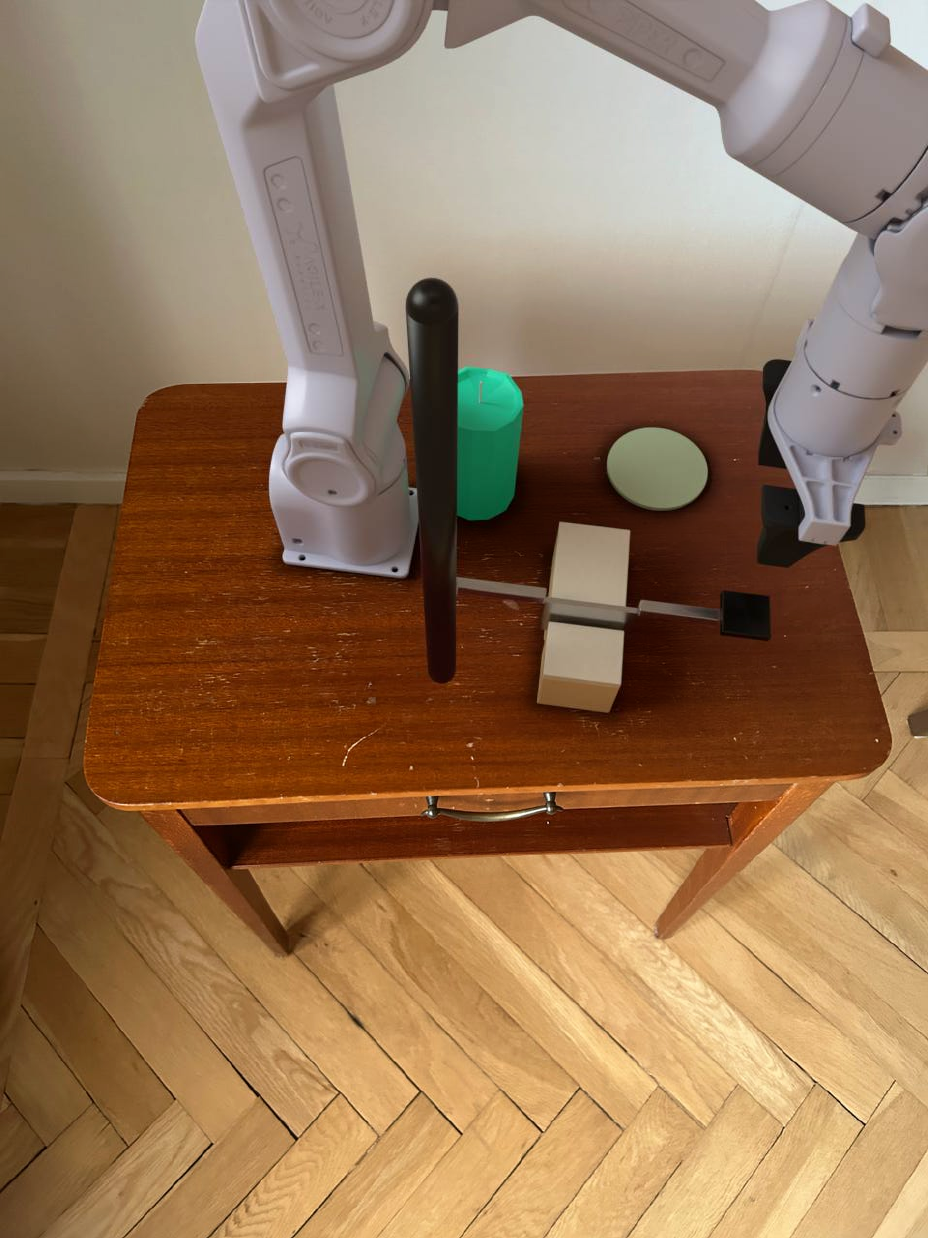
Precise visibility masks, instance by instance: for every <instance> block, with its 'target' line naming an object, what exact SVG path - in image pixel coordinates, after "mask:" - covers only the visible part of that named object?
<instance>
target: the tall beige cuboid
mask: <svg viewBox="0 0 928 1238" xmlns="http://www.w3.org/2000/svg"><path fill="white" fill-rule="evenodd" d="M630 543H631V530H630V529H624V528H615V527H608V526H607V527H606V526H600V525H599V526H597V525H592V524H591V525H590V524H582V523H574V522H567V521H566V522H565V521H559V523H558V528H557V533H556V539H555V544H554V548H553V555H552V559H551V567H550V568H551V569H550V577H549V588H548V596H547V597H553V598H561V599H569V600H576V601H584V602H592V603H600V604H608V605H616V606H624V607H627V595H628V579H629V577H628V576H629V563H630V562H629V560H630ZM546 634H547V630H544V635H543V641H545V638H546Z"/></svg>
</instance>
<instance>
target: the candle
mask: <svg viewBox="0 0 928 1238" xmlns="http://www.w3.org/2000/svg"><path fill="white" fill-rule="evenodd" d="M524 407H525V405H524V399H523V393H522V390H521V388H519V386H518V385H517V383H516V382H515V381H514V379H513V377H512V376H511V375H510V374H509V373H507V372H503V371H499V370H496V369H491V368H485V367H476V366H464V367H462V368H460V369H458V453H457V517H460V518H463V519H465V520H467V521H485V520H491V519H493V518H494V517H497V516H498V515H500V514H503V512H506V510H507V509H508V508H509V505H510V504H511V502H512V500H513V499H514V497H515V491H516V482H517V472H518V463H519V453H520V446H521V445H520V444H521V434H522V423H523V416H524V415H523V414H524Z"/></svg>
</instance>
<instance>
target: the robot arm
mask: <svg viewBox="0 0 928 1238" xmlns="http://www.w3.org/2000/svg"><path fill="white" fill-rule="evenodd" d="M433 11H439V12H441V11H442V12H447V14H446V23H445V32H444V42H443V43H444V44H443V46H444V48H445V49H447V50H449V49H453V50H454V49H457V48H461V47H463V46H465V45H467V44H470V43H472V42H474V41H477V40H478V39H481V38H483V37H485V36H488V35H490V34H492V33H495V32H497V31H499V30H500V29H503V28H506V27H508V26H510V25H512V24H514V23H516V22H519V21H521V20H524V19H525V18H528V17H539V18H541V19H543V20H546V21H548V22H550V23H551V24H553V25H556V26H558V27H559V28H561V29H563V30H565V31H567V32H568V33H571V34H573V35H574V36H576V37H578V38H580V39H582V40H584V41H587V42H588V43H590V44H592V45H594V46H596V47H598V48H600V49H602V50H604V51H605V52H608V53H609V54H611V55H613V56H615V57H617V58H619V59H621V60H623V61H625V62H627V63H629V64H630V65H633V66H634V67H637V68H638V69H640V70H642V71H644V72H646V73H648V74H650V75H652V76H654V77H656V78H658V79H660V80H661V81H664V82H666V83H667V84H669V85H671V86H673V87H675V88H677V89H679V90H681V91H683V92H685V93H687V94H689V95H691V96H692V97H695V98H697V99H698V100H700V101H701V102H705V103H706V104H708V105H710V106H712V107H714V108H715V110H716V112H717V114H718V117H719V121H720V132H721V140H722V141H721V142H722V144H723V148H724V151H725V153H726V155H727V156H729V157H730V158H731V159H733V160H735V161H737V162H738V163H740V164H742V165H743V166H744V167H747V168H748V169H749V170H751V171H753V172H754V173H757V175H760V176H761V177H763V178H765V179H766V180H767V181H770V182H771V183H773V184H775V185H776V186H778V187H779V188H781V189H783V190H784V191H786V192H788V193H789V194H791V195H793V196H795V197H796V198H798V199H799V200H801V201H803V202H805V203H806V204H808V205H809V206H811V207H812V208H815V209H816V210H818V211H819V212H821V213H823V214H825V215H826V216H828V217H830V218H831V219H833V220H835V221H836V222H838V223H840V224H842V225H843V226H845V227H846V228H848V229H850V230H851V231H854V232H856V236H854V237H855V238H854V239H853V242H852V244H851V246H850V248H849V250H848V252H847V254H846V255H845V256H844V258H843V260H842V262H841V263H840V265H839V267H838V270H837V272H836V273H835V276H834V277H833V280H832V282H831V284H830V286H829V288H828V291H827V292H826V295H825V296H824V299H823V301H822V303H821V305H820V307H819V309H818V311H817V313H816V316H815V318H807V319H806V321H805V323H804V325H803V327H802V329H801V331H800V334H799V336H798V338H797V340H796V342H795V350H796V351H795V355H794V356H793V358H792V360H789V359H781V358H775V359H769V360H768V361H767V362H766V363H764V365H763V367H762V392H763V396H764V401H765V411H764V418H763V423H762V428H761V432H760V437H759V444H758V452H757V466H762V467H768V468H776V469H782V470H783V469H784V470H787V471H788V473H789V475H790V478H791V480H792V482H793V485H794V486H795V488H791V487H784V486H777V485H771V484H770V485H769V484H763V485H762V487H761V490H760V501H761V502H760V514H761V515H760V516H761V523H762V529H761V532H760V534H759V538H758V541H757V546H756V563H757V564H759V565H765V566H771V567H777V568H784V569H789V568H790V567H791V566H793V565H795V564H796V563H798V562H799V561H801V560H802V559H803V558H805V557H806V556H808V555H810V554H811V553H813V552H815V551H818V550H820V549H822V548H825V547H827V546H834V547H835V546H837V545H838V544H840V543H846V542H852V541H857V540H858V539H859V538H860V537H861V535H862V534H863V532H864V531H865V529H866V524H867V523H866V505H865V504H863V503H857V502H855V500H856V496H857V494H858V493H859V490H860V488H861V485H862V483H863V481H864V479H865V476H866V474H867V473H868V472H867V471H868V469H869V467H870V465H871V462H872V460H873V458H874V455H875V453H876V451H877V448H878V447H879V446H890V447H891V446H895V445H896V444H897V443H898V442H899V441H900V439H901V438H902V435H903V427H902V417H901V414H900V413H899V412H898V411H896V410H897V409H898V407H899V405H900V404H901V403H902V401H903V399H904V398H905V396H906V395H907V393H908V392H909V390H910V389H911V388H912V386H913V385H914V383H915V382H916V380H917V378H919V376H920V374H921V373H922V371H923V370H924V369H925V367H926V365H927V364H928V69H927V68H925V67H923V65H921V64H920V63H918V62H917V61H915V60H914V59H912V58H911V57H909V56H908V55H906V54H905V53H903V52H902V51H900V50H899V49H898V48H896V47H895V46H893V45H892V36H891V21H890V19H889V17H888V16H887V15H885V14H884V13H882V12H881V11H879V10H877V9H876V8H875V7H874V6H872V5H871V4H870V3H867V2H864V3H862V4H861V5H860V6H859V7H858V8H857V9H856V11H854V13H853V14H852V15H851V16H849V15H848V14H847V13H846V12H844V11H843V10H841V9H840V8H839V7H837V6H836V5H834V4H833V3H832V2H830V1H829V0H805V1H802V2H798V3H795V4H792V5H789V6H785V7H783V8H779V9H775V10H773V9H772V10H769V9H767V8H766V7H764V5H762V4H760V3H759V2H758V1H757V0H204V3H203V6H202V10H201V13H200V16H199V20H198V23H197V26H196V29H195V35H194V42H195V48H196V56H197V60H198V64H199V68H200V70H201V74H202V77H203V81H204V84H205V87H206V91H207V94H208V98H209V101H210V105H211V108H212V112H213V115H214V118H215V121H216V125H217V127H218V131H219V132H218V133H219V135H220V138H221V142H222V145H223V149H224V151H225V156H226V158H227V162H228V166H229V169H230V172H231V175H232V178H233V182H234V186H235V189H236V192H237V195H238V199H239V203H240V206H241V208H242V209H241V210H242V212H243V215H244V219H245V223H246V226H247V229H248V233H249V236H250V239H251V240H250V241H251V242H252V243H251V244H252V247H253V250H254V253H255V257H256V260H257V264H258V267H259V271H260V274H261V278H262V280H263V284H264V287H265V290H266V293H267V297H268V301H269V304H270V307H271V311H272V313H273V317H274V321H275V324H276V326H277V332H278V334H279V337H280V342H281V344H282V348H283V351H284V355H285V359H286V361H287V365H288V366H287V367H288V368H287V378H286V386H285V387H286V388H285V396H284V406H283V413H282V414H283V415H282V430H283V433H282V434H281V435H280V436H279V437H278V439H277V441H276V443H275V446H274V449H273V452H272V456H271V461H270V467H269V477H268V492H269V493H268V494H269V495H268V496H269V502H270V507H271V510H272V513H273V516H274V520H275V523H276V526H277V530H278V532H279V536H280V538H281V542H282V545H283V549H284V550H283V553H282V560H283V563H284V564H286V565H292V566H298V567H299V566H300V567H306V568H307V567H309V568H316V569H324V570H332V571H339V572H347V573H355V574H363V575H370V576H378V577H379V576H380V577H387V578H395V579H406V578H407V577H408V576H409V572H410V567H411V562H412V557H413V552H414V547H415V542H416V536H417V533H418V528H419V517H418V501H417V487H416V488H415V487H410V486H409V485H410V484H409V476H408V475H409V473H408V462H407V461H408V460H407V449H406V448H407V447H406V442H405V439H404V436H403V433H402V431H401V429H400V427H399V424H398V421H397V420H398V417H399V414H400V410H401V406H402V404H403V399H404V398H405V397H406V396H407V393H408V389H409V387H410V372H409V369H408V367H407V366H406V364H405V362H404V361H403V359H402V358H401V357H400V356H399V355H398V353H397V352H396V351H395V349H394V346H393V345H392V343H391V339H390V333H389V328H388V326H387V325H385V324H383V323H380V322H378V321H375V320H374V317H373V310H372V306H371V300H370V294H369V287H368V282H367V276H366V275H367V274H366V269H365V263H364V257H363V252H362V251H363V250H362V246H361V240H360V233H359V227H358V221H357V216H356V215H357V214H356V210H355V204H354V198H353V191H352V186H351V180H350V174H349V169H348V161H347V156H346V150H345V145H344V139H343V138H344V137H343V132H342V126H341V121H340V114H339V108H338V101H337V96H336V90H335V85H334V84H337V83H340V82H343V81H346V80H349V79H352V78H355V77H359V76H361V75H364V74H367V73H371V72H373V71H375V70H378V69H380V68H382V67H385V66H387V65H389V64H391V63H393V62H395V61H397V60H399V59H400V58H401V57H402V56H404V55H405V54H406V53H408V52H409V51H410V50H411V49H412V48H413V47H414V45H415V44H416V43H417V42H418V41H419V40H420V38H421V36H422V34H423V33H424V32H425V30H426V28H427V26H428V23H429V21H430V18H431V16H432V12H433ZM410 494H411V495H410ZM302 558H303V559H304V560H302ZM394 570H397V571H396V572H395V571H394Z"/></svg>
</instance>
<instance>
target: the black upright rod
mask: <svg viewBox="0 0 928 1238" xmlns="http://www.w3.org/2000/svg"><path fill="white" fill-rule="evenodd" d="M405 321H406V336H407V337H406V338H407V339H406V340H407V353H408V368H409V369H408V373H409V380H410V381H409V387H410V403H411V404H410V405H411V417H412V418H411V419H412V420H411V421H412V435H413V451H414V452H413V453H414V468H415V482H416V488H417V501H418V517H419V522H418V530H419V533H418V534H419V547H420V563H421V578H422V580H421V581H422V597H423V611H424V614H423V615H424V624H425V625H424V628H425V644H426V645H425V646H426V660H427V673H428V676H429V678H430V679H431V680H432V681H433V682H434V683H436V684H440V685H441V684H443V685H444V684H447V683H449V682H451V681H452V680H453V679H454V678H455V676H456V673H457V602H458V597H459V594H465V595H472V596H480V597H489V598H497V599H504V600H512V601H521V602H528V603H535V604H543V606H542V611H541V617H540V623H539V630H542V631H545V630H547V629H548V624H549V622H558V623H565V624H573V625H581V626H589V627H597V628H605V629H612V630H620V631H624V641H628V640H629V636H630V634H631V632H632V630H633V626H634V624H635V621H636V618H637V617H645V618H651V619H661V620H666V621H667V620H669V621H674V622H675V621H677V622H683V623H692V624H701V625H706V626H707V625H708V626H718V623H719V635H720V636H721V637H729V638H730V637H731V638H738V639H746V640H752V641H753V640H754V641H761V642H769V641H770V640H771V638H772V618H771V617H772V616H771V615H772V614H771V596H770V595H766V594H758V593H751V592H750V593H749V592H741V591H733V590H726V589H723V590H722V591H721V592H720V593H719V594H720V595H719V609H718V608H710V607H703V606H695V605H686V604H678V603H671V602H670V603H669V602H662V601H655V600H646V599H640V601H639V604H638V607H632V606H626V607H624V606H616V605H608V604H600V603H592V602H584V601H576V600H569V599H561V598H553V597H548V596H547V588H546V587H540V586H533V585H526V584H517V583H509V582H503V581H502V582H501V581H493V580H486V579H477V578H469V577H463V576H462V577H461V576H457V575H458V574H457V573H458V571H457V569H458V566H457V565H458V561H457V560H458V515H457V453H458V371H459V300H458V296H457V293H456V291H455V290H454V288H453V287H452V286H451V285H450V284H449V283H448V282H446V281H445V280H443V279H441V278H437V277H425V278H422V279H420V280H419V281H417V282H416V283H415V284H413V285H412V287H411V288H410V289H409V291H408V293H407V295H406V298H405Z"/></svg>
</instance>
